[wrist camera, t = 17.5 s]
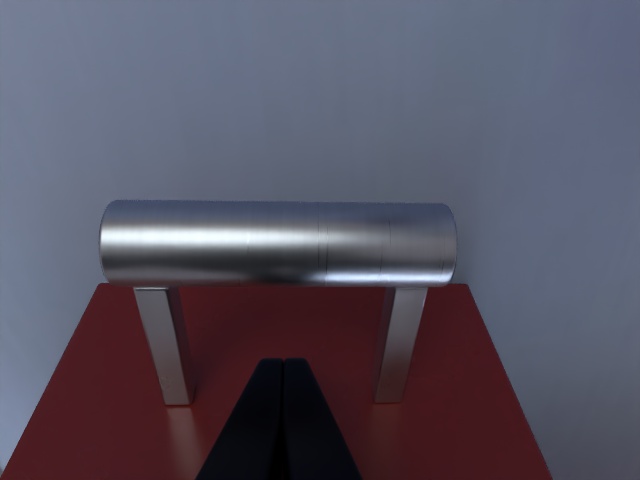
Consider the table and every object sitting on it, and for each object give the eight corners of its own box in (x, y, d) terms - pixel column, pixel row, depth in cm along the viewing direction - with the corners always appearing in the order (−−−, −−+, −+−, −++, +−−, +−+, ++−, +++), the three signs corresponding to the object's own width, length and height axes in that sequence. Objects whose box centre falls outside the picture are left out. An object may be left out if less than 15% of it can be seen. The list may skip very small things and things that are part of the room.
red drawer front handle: (44, 114, 10) (-173, 303, 5) (515, 124, 10) (686, 302, 6) (168, 500, 20) (130, 679, 15) (404, 494, 21) (435, 666, 16)
